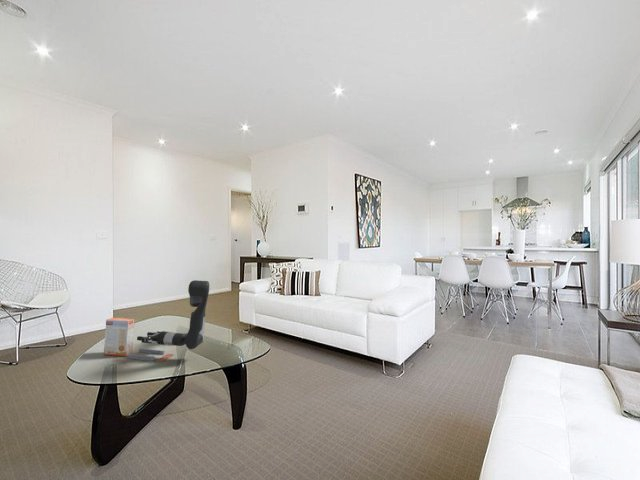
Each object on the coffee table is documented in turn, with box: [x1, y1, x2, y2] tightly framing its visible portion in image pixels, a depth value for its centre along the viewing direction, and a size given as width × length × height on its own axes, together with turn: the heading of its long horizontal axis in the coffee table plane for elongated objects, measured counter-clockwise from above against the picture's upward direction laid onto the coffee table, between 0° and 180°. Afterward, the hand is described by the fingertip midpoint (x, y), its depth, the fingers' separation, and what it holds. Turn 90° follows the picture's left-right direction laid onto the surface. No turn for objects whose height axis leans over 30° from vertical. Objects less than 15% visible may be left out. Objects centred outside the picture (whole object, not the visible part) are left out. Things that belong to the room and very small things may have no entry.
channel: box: [126, 348, 166, 361], centre depth 178 cm, size 11×16×2 cm, turn 84°
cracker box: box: [103, 317, 135, 357], centre depth 179 cm, size 14×6×21 cm, turn 85°
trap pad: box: [155, 353, 175, 362], centre depth 177 cm, size 11×4×1 cm, turn 174°
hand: (142, 336), depth 179 cm, fingers open, 8 cm apart
